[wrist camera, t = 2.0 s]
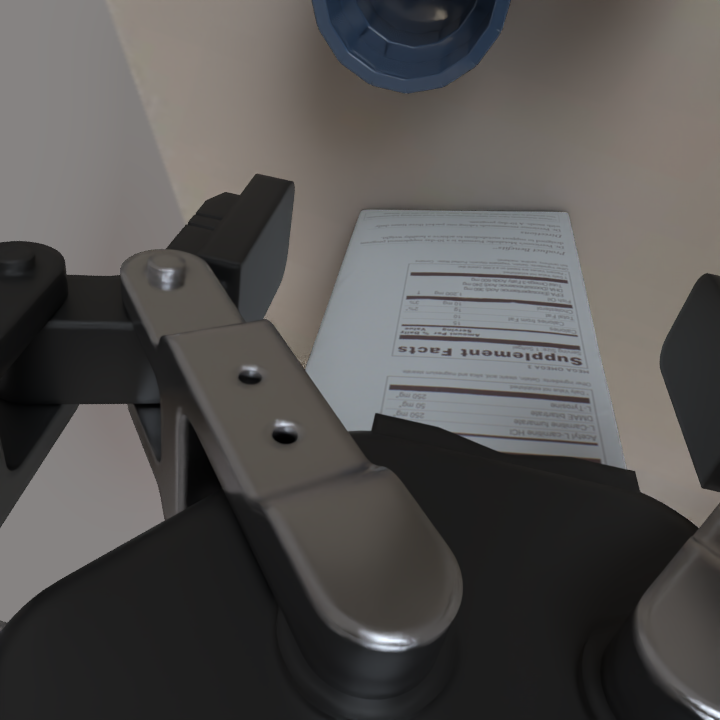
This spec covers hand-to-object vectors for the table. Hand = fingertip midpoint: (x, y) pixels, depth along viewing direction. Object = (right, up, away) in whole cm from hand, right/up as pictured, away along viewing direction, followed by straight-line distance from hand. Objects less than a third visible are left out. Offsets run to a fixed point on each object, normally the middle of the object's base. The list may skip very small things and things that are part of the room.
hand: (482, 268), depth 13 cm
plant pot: (0, +12, +11) cm, 16 cm away
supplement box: (+2, +1, +19) cm, 19 cm away
